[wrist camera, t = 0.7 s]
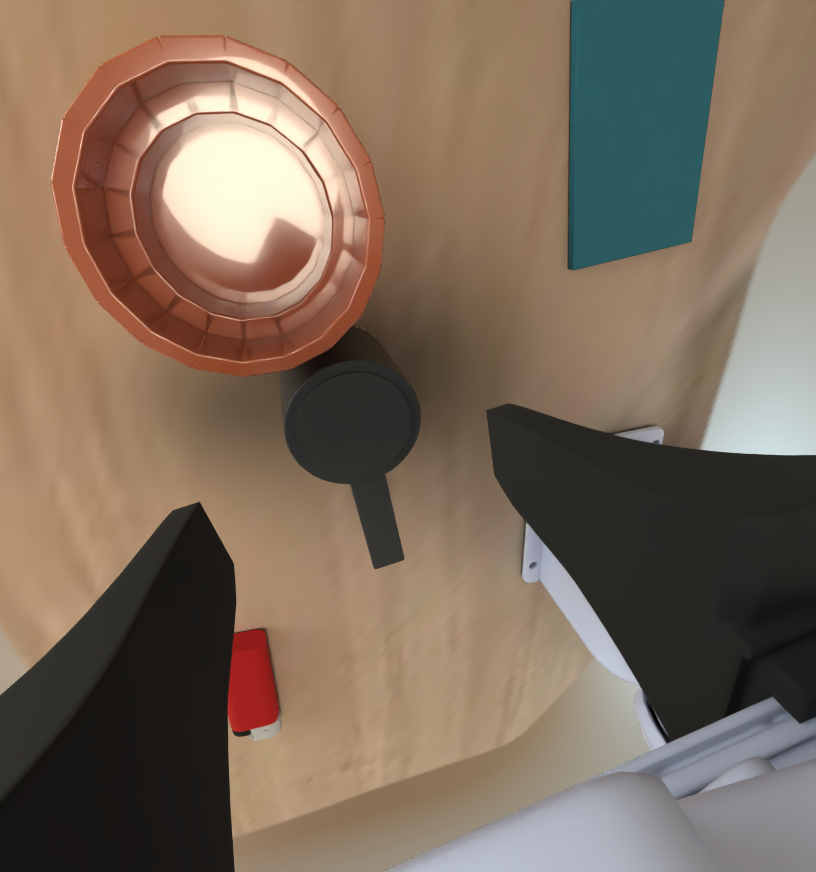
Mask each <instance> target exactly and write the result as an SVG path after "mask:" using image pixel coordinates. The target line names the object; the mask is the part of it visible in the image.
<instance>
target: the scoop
mask: <svg viewBox="0 0 816 872" xmlns="http://www.w3.org/2000/svg"><path fill="white" fill-rule="evenodd" d="M280 385H281V398H282V410H283V423H284V434H285V439H286V443H287V446H288V448H289V450H290V452H291V454H292V455H293V457H294V459H295V460H296V461H297V462H298V463H299V465H301V466H302V467H303V468H304V469H305V470H306V471H308V472H309V473H311V474H312V475H314V476H316V477H318V478H320V479H323V480H326V481H329V482H333V483H340V484H350V485H351V489H352V492H353V496H354V499H355V503H356V506H357V510H358V514H359V517H360V521H361V524H362V528H363V531H364V535H365V538H366V542H367V546H368V549H369V553H370V556H371V560H372V563H373V567H374V569H378V568H381V567H384V566H387V565H390V564H393V563H396V562H399V561H402V560H404V554H403V550H402V546H401V541H400V537H399V533H398V529H397V524H396V520H395V516H394V511H393V507H392V503H391V498H390V494H389V490H388V485H387V481H386V477H385V474H386V473H388V472H389V471H391V470H392V469H393V468H395V467H396V466H397V465H398V464H399V463H400V462H401V461H402V460H404V458H405V457H406V456H407V455H408V453H409V452H410V450H411V449H412V447H413V445H414V443H415V441H416V439H417V436H418V433H419V428H420V421H421V413H420V406H419V402H418V399H417V396H416V394H415V392H414V390H413V388H412V387H411V385H410V384H409V382H408V381H407V380H406V378H405V377H404V376H403V374H402V373H401V371H400V370H399V369H398V367H397V366H396V365H395V363H394V362H393V361H392V359H391V358H390V356H389V355H388V354H387V352H386V351H385V350H384V348H383V347H382V346H381V345H380V343H379V342H378V341H377V340H376V339H375V338H374V337H372V336H371V335H369V334H368V333H366V332H364V331H362V330H360V329H357V328H355V327H351V328H350V329H349V330H348V331H347V332H346V333H345V334H344V335H343V336H342V337H341V338H340V339H339V341H338V342H337V343H336V344H335V345H334V346H333V347H332V348H330V349H329V350H328V351H326V352H324V353H322V354H320V355H318V356H316V357H314V358H312V359H310V360H308V361H306V362H305V363H303V364H301V365H299V366H297V367H295V368H293V369H289V370H287V371H281V373H280Z"/></svg>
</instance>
